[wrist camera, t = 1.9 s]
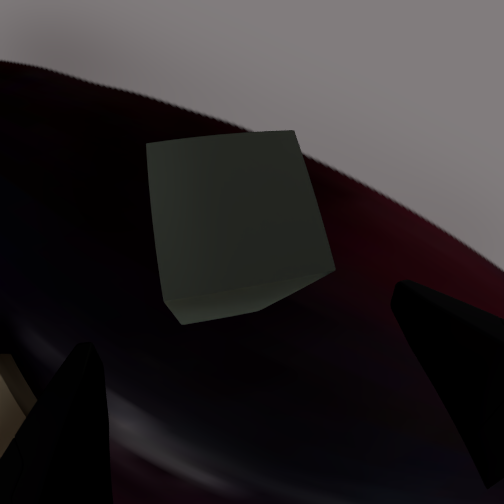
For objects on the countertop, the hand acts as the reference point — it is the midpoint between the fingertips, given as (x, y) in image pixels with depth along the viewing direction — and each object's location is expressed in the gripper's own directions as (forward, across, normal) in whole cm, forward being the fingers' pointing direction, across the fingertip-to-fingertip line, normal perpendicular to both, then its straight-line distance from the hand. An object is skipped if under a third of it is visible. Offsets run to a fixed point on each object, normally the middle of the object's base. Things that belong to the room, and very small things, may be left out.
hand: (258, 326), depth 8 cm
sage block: (+10, 0, +5) cm, 11 cm away
